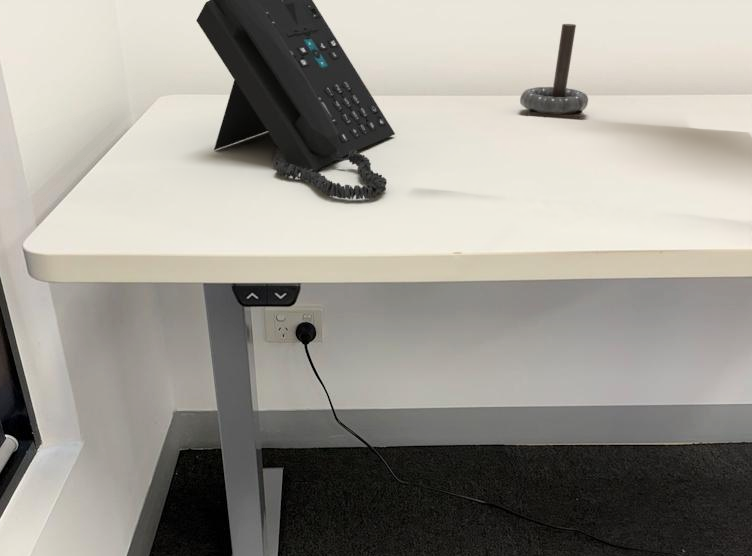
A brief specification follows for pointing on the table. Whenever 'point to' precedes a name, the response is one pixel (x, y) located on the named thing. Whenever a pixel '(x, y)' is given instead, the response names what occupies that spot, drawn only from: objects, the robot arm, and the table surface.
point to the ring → (553, 101)
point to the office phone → (294, 90)
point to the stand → (562, 72)
